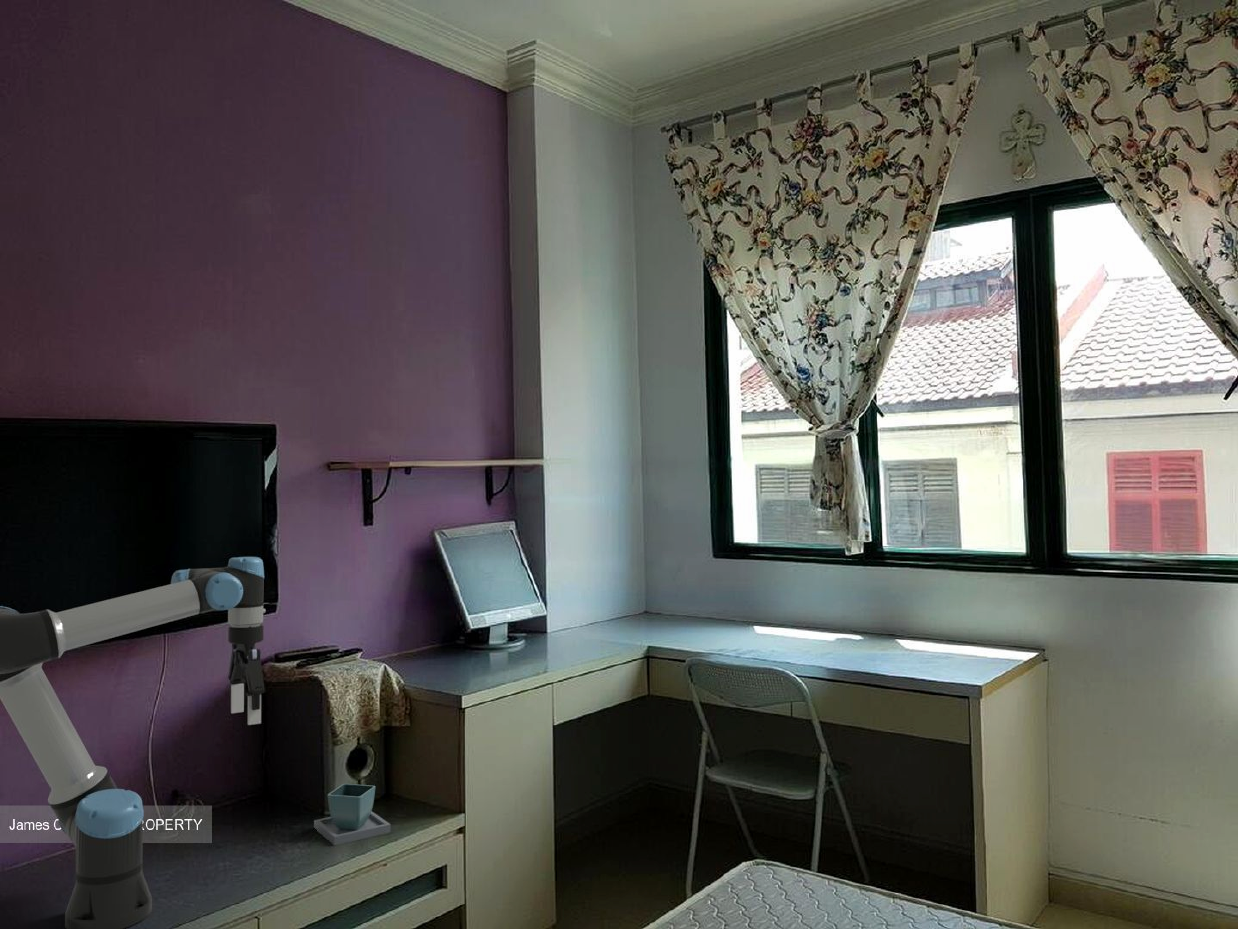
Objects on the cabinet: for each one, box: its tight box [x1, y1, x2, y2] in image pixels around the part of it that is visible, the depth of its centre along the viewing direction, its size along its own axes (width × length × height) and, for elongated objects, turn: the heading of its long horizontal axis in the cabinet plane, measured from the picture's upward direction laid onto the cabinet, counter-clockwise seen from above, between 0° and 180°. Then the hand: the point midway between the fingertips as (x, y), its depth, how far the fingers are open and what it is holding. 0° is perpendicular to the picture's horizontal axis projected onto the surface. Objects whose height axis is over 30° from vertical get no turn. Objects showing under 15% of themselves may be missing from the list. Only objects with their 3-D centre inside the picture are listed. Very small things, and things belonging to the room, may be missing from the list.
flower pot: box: [326, 783, 376, 830], centre depth 237 cm, size 9×9×9 cm
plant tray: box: [313, 811, 392, 846], centre depth 237 cm, size 14×14×2 cm
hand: (245, 718), depth 221 cm, fingers open, 13 cm apart
